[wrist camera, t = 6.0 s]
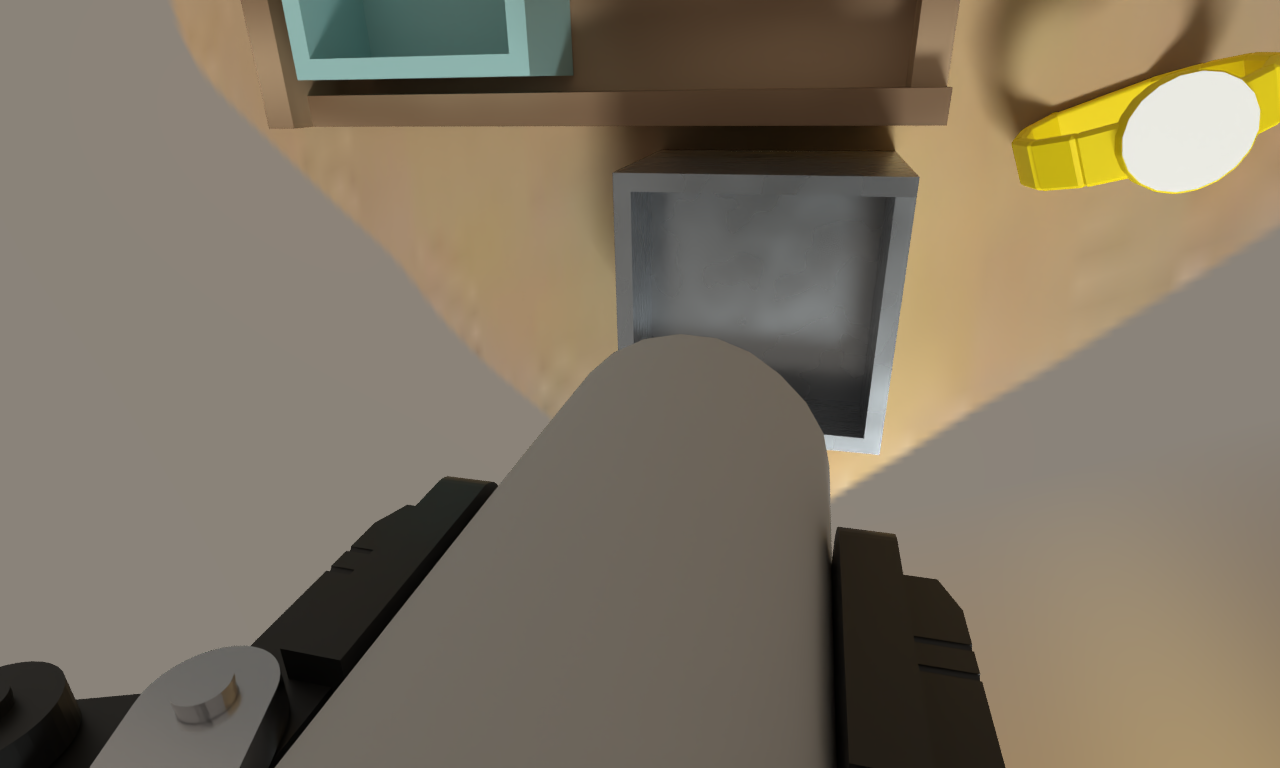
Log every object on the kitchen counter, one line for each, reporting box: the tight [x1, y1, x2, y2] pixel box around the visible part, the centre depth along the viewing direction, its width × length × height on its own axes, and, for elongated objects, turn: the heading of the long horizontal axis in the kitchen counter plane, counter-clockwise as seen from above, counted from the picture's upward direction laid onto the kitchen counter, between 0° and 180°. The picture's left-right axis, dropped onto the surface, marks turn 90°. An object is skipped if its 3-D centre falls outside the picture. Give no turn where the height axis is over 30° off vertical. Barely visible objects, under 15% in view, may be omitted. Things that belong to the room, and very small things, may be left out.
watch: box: [1012, 52, 1280, 194], centre depth 19 cm, size 6×3×6 cm, turn 113°
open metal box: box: [613, 150, 919, 455], centre depth 23 cm, size 8×8×6 cm
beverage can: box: [275, 334, 837, 768], centre depth 7 cm, size 5×5×12 cm
